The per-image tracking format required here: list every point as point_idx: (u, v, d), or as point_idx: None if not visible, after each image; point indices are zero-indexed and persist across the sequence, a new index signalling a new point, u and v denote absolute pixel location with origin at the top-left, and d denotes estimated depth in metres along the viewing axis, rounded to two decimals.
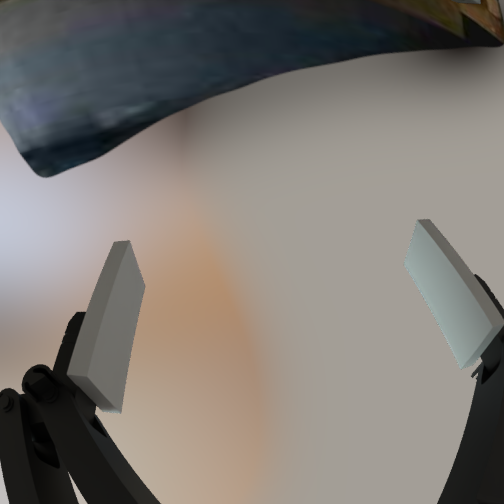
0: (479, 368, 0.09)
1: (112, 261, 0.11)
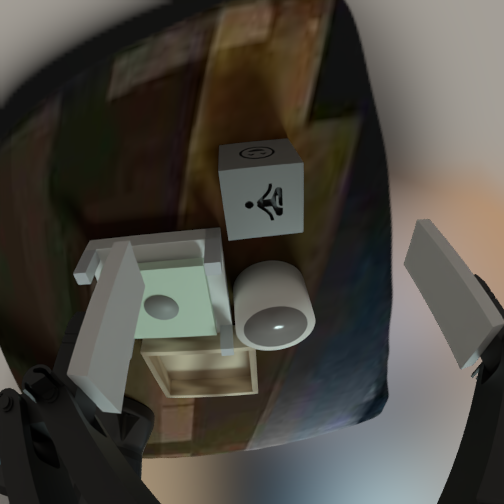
0: (479, 368, 0.09)
1: (112, 261, 0.11)
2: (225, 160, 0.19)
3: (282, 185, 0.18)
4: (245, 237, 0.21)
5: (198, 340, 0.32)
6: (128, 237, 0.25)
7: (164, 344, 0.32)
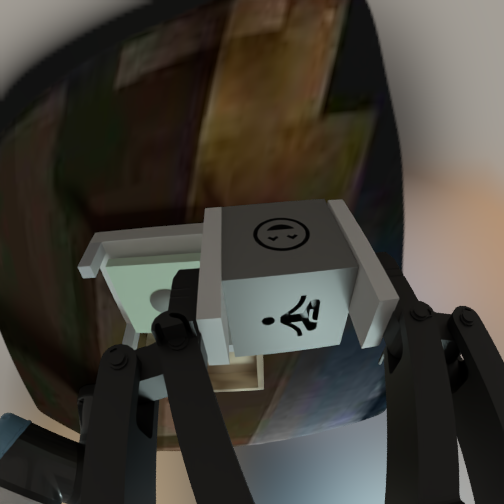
0: (384, 355, 0.10)
1: (211, 224, 0.13)
2: (232, 250, 0.12)
3: (321, 297, 0.12)
4: (259, 353, 0.14)
5: None
6: (135, 229, 0.25)
7: None
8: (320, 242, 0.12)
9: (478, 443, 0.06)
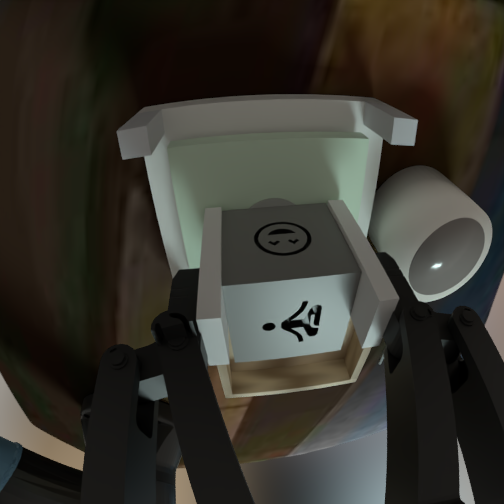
0: (384, 355, 0.10)
1: (211, 224, 0.13)
2: (232, 255, 0.12)
3: (323, 302, 0.12)
4: (259, 359, 0.14)
5: None
6: (222, 97, 0.14)
7: None
8: (322, 247, 0.12)
9: (478, 443, 0.06)
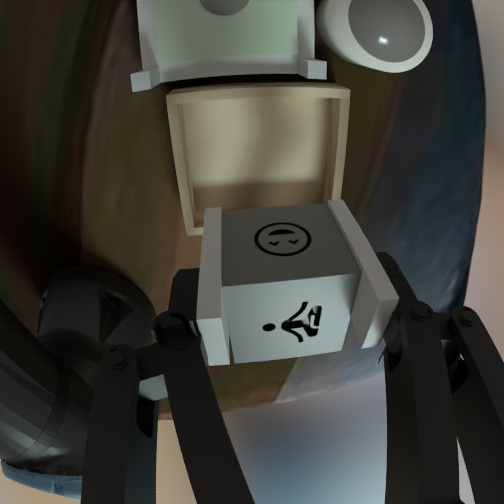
0: (383, 355, 0.10)
1: (211, 224, 0.13)
2: (232, 255, 0.12)
3: (323, 303, 0.12)
4: (259, 360, 0.14)
5: (261, 84, 0.19)
6: None
7: (206, 88, 0.19)
8: (322, 247, 0.12)
9: (478, 443, 0.06)
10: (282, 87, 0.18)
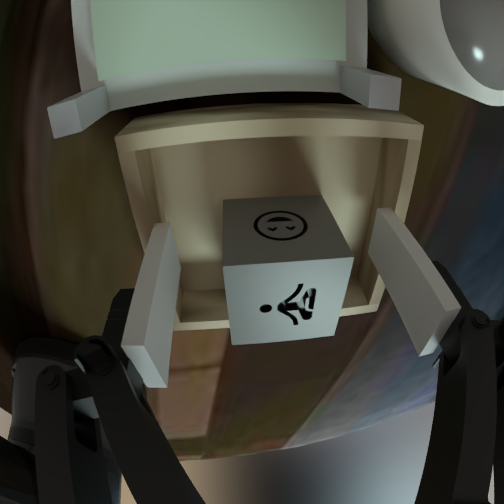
0: (439, 358, 0.10)
1: (156, 241, 0.12)
2: (233, 239, 0.13)
3: (317, 285, 0.12)
4: (255, 342, 0.14)
5: (280, 110, 0.12)
6: None
7: (185, 119, 0.11)
8: (317, 234, 0.13)
9: None
10: (318, 118, 0.11)
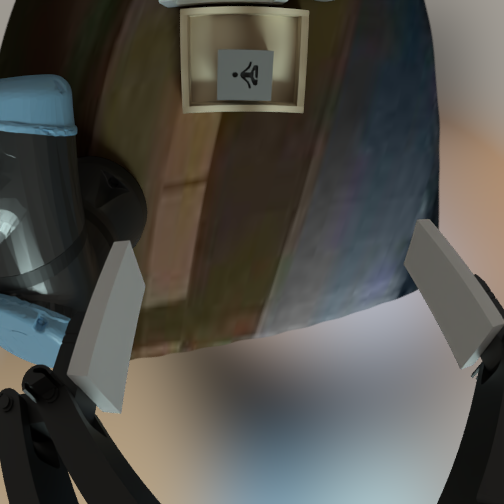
0: (479, 368, 0.09)
1: (112, 261, 0.11)
2: None
3: (258, 64, 0.24)
4: (229, 98, 0.26)
5: None
6: None
7: None
8: None
9: None
10: (260, 7, 0.22)
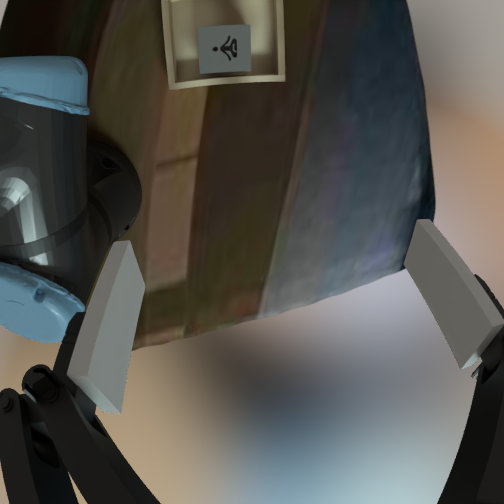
0: (479, 368, 0.09)
1: (112, 261, 0.11)
2: None
3: (236, 37, 0.24)
4: (211, 71, 0.26)
5: None
6: None
7: None
8: None
9: None
10: None
